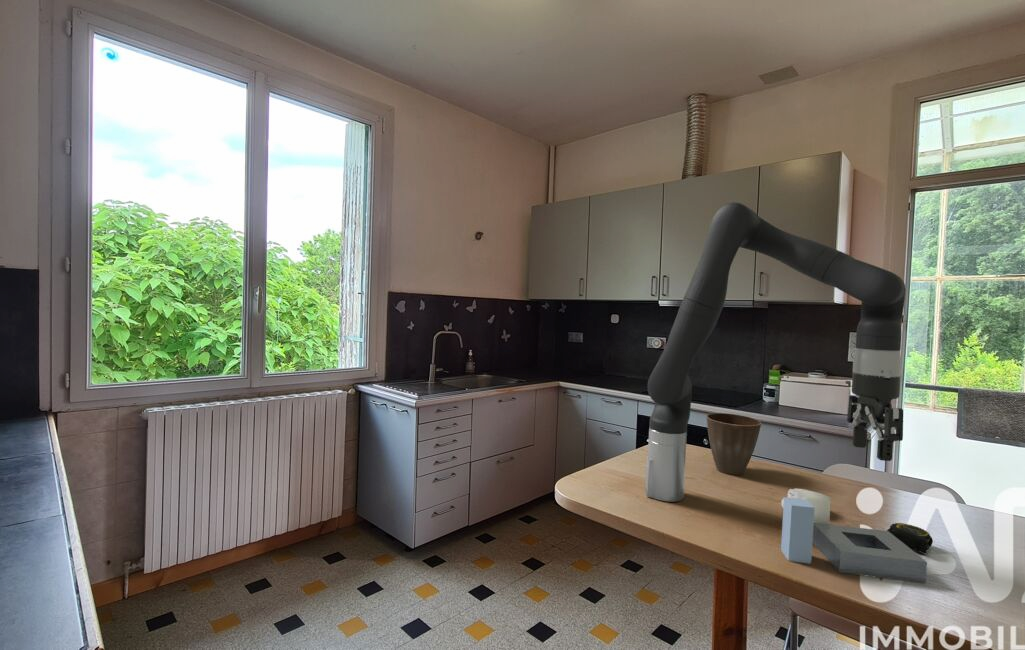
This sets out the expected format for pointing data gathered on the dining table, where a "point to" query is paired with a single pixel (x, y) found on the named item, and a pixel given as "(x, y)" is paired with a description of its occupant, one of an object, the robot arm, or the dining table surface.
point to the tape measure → (912, 536)
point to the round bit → (818, 505)
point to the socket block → (869, 553)
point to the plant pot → (732, 441)
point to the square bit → (797, 530)
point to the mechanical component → (792, 494)
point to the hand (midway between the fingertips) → (871, 453)
